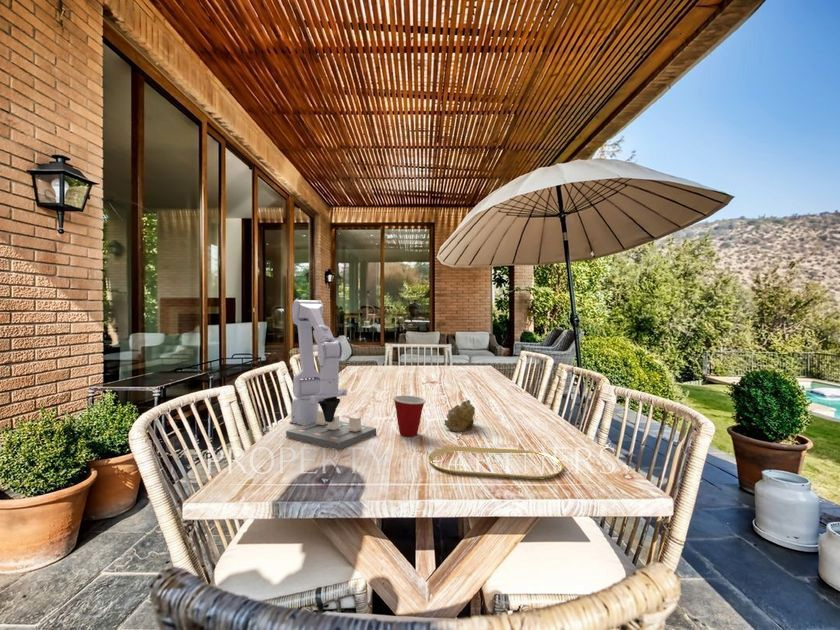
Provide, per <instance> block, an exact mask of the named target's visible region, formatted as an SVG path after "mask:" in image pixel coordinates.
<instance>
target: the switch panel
mask: <svg viewBox="0 0 840 630" xmlns="http://www.w3.org/2000/svg"><path fill="white" fill-rule="evenodd" d="M339 425H341V428H338V429H335V430H331V429H326V426H328V424H325V425H320V424H316V422H314V423H310V424H307V425H300V426H299V427H294V428H292V429H291V428H290V429H288V430H286V432H285V434H286V435H285V437H286V438H287V437H288V438H289V439H292V440H297V441H301V442H305V443H308V444H313V445H317V446H322V447H325V446H326V447H325V448H329V447H330V448H329V449H333V448H334V449H333V450H336V451H337V450H338V451H339V450H341V449H344V448H346V447H349V446H351V445H354V444H356V443H359V442H361V441H364V440H365V439H369V438H371V437H372V436H373V437H374V436H375V435H377V428H376V427H373V426H367V425H361V427H362V430H359V431H356V432H354V431H349V430H348V427H349V422H347V421H341V420H339ZM288 438H287V439H288Z"/></svg>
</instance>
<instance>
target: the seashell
mask: <svg viewBox="0 0 840 630" xmlns="http://www.w3.org/2000/svg"><path fill="white" fill-rule="evenodd" d="M475 413H476V408H475V406H473V404H471V400H470V399H467V400H466V401H462V402H461V404H460V405H459V404H457V405H455V406H454V407H453V408H452V409H450V410H448V413H447V414H446V418H447V419H444V420H443V421H444V424H443V425H444V426H445V427H446V428H448V429H449V430H452V431H453V432H456V433H457V432H459V433H461V432H467V431H471V430H473V429H474V422H475V421H474V416H475Z"/></svg>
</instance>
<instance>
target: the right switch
mask: <svg viewBox="0 0 840 630" xmlns="http://www.w3.org/2000/svg"><path fill="white" fill-rule="evenodd" d="M348 420H349V422H348V423H349V427H348V430H349V431H354V432H356V431H359V430H362V427H361V424H362V423H361V422H362V421H361V420H362V417H361V416H356V415H352V416H350V417H349V419H348Z"/></svg>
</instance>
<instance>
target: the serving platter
mask: <svg viewBox="0 0 840 630" xmlns="http://www.w3.org/2000/svg"><path fill="white" fill-rule="evenodd" d="M454 451H455V452H454ZM456 451H463V452H462V453H470V452H476V453H475V454H486V453H488V452H489V453H511V452H512V453H535V454H539V455H542V456H546V457H549V458H551V459H553V460H555V461H556V462H557V463H558V464H559V465H560V471H559V472H557V473H556V472H554V473H552V474H545V475H529V474H528V475H527V474H526V475H525V474H524V475H523V474H513V473H512V474H511V473H510V474H509V473H498V472H497V473H495V472H483V471H481V472H480V471H470V470H469V471H467V470H457V469H456V470H455V469H450V468H449V469H448V468H445V467H442V466H439V465H437V464H436V463H435V459H436V458H437V457H439V456H440V455H439V454H442V455H444V454H443V453H445V454H448V453H447V452H451V453H457V452H456ZM485 452H486V453H485ZM438 455H439V456H438ZM436 456H437V457H436ZM435 457H436V458H435ZM434 458H435V459H434ZM433 460H434V462H433ZM428 461H429V463H430V464H431V465H432V466H433V467H434V468H435V469H437V468H438V469H437V470H439V469H440V470H439V471H442V472H445V473H448V472H449V474H453V473H455V474H454V475H461V474H465V476H475V477H476V476H478V477H490V476H493V477H492V478H504V477H514V478H513V479H519V478H531V479H530V480H541V479H540V478H547V479H550V478H549V477H551V478H554V477H556V476H558V475H559V474H560V473H561V472H562V471H563V470H564V465H563V463H562V461H561V460H559V459H557V457H556V458H555V457H554V456H551V455H549V454H546V453H544V452H539V451H532V450H527V449H515V448H513V449H512V448H511V449H510V448H509V449H508V448H497V447H496V448H494V447H478V446H462V445H461V446H459V445H458V446H447V447H442V448H438V449H435V450H433V451H432V452H430V453H429V455H428ZM434 463H435V464H434ZM557 474H558V475H557ZM555 475H556V476H555ZM553 476H554V477H553Z"/></svg>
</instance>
